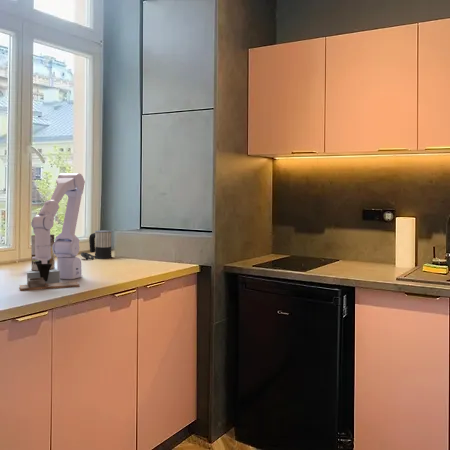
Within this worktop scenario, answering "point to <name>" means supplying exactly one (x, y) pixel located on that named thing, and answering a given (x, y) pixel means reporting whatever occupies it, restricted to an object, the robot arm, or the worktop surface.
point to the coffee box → (34, 266)
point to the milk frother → (99, 245)
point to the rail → (52, 277)
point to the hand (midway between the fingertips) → (43, 279)
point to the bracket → (45, 284)
